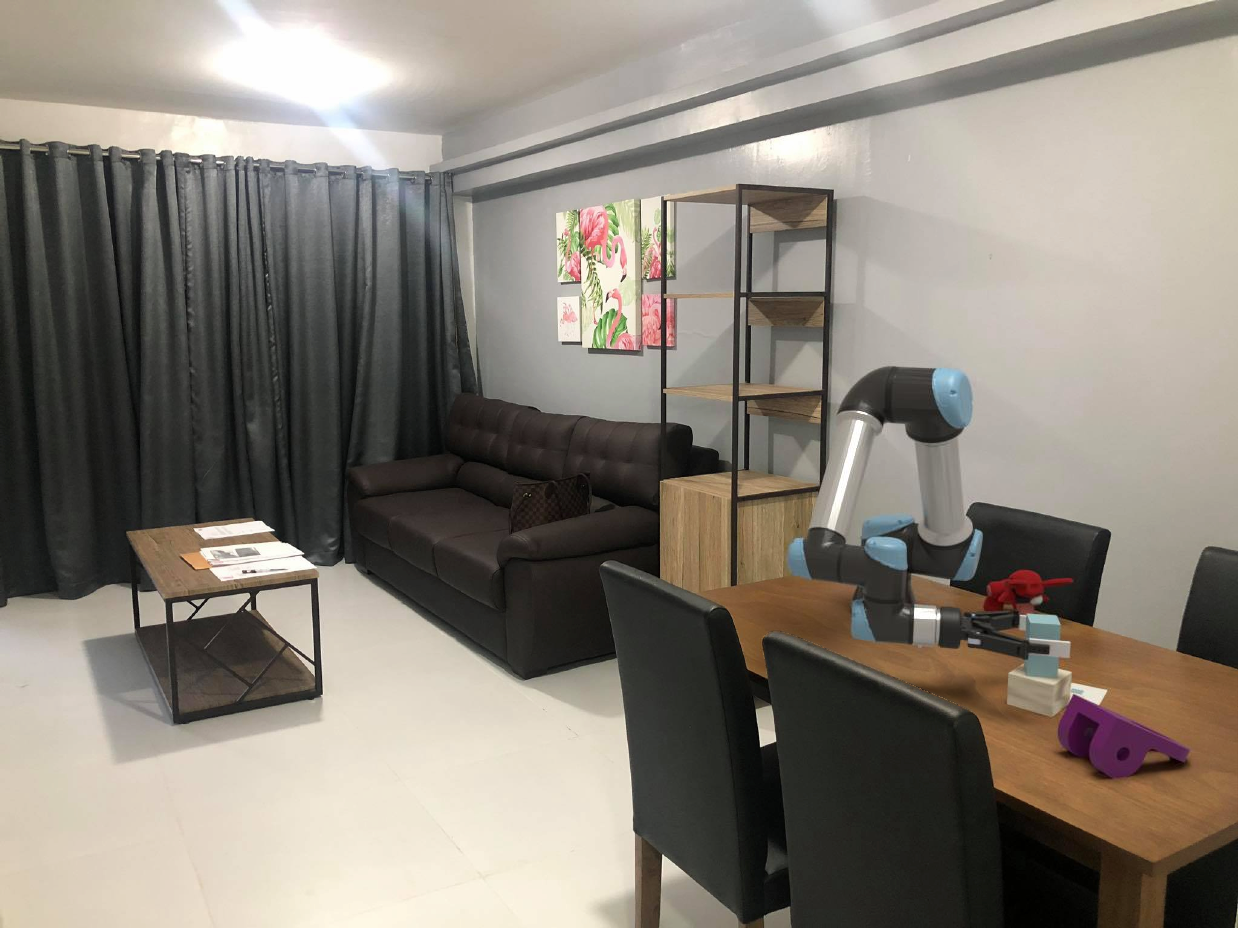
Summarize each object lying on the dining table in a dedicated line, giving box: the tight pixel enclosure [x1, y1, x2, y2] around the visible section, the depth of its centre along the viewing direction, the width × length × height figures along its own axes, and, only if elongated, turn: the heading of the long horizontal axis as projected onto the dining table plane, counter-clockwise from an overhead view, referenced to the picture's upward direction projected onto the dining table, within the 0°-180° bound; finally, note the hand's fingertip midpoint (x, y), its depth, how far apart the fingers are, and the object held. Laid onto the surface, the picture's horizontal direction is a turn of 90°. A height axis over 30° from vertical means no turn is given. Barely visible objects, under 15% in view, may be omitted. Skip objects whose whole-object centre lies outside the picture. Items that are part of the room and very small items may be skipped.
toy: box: [982, 569, 1074, 617], centre depth 223 cm, size 16×12×16 cm
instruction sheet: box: [1066, 682, 1108, 707], centre depth 181 cm, size 12×9×1 cm
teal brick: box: [1023, 613, 1062, 679], centre depth 175 cm, size 5×5×10 cm
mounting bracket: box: [1057, 694, 1191, 779], centre depth 155 cm, size 10×9×19 cm
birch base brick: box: [1006, 662, 1073, 718], centre depth 176 cm, size 8×8×6 cm
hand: (1063, 637), depth 174 cm, fingers open, 13 cm apart
